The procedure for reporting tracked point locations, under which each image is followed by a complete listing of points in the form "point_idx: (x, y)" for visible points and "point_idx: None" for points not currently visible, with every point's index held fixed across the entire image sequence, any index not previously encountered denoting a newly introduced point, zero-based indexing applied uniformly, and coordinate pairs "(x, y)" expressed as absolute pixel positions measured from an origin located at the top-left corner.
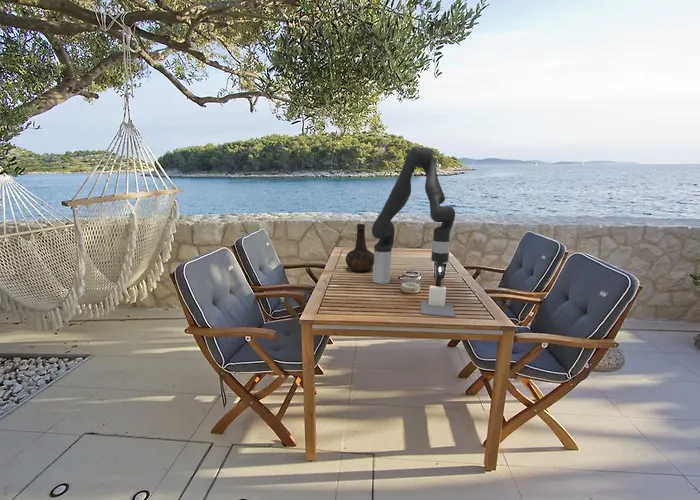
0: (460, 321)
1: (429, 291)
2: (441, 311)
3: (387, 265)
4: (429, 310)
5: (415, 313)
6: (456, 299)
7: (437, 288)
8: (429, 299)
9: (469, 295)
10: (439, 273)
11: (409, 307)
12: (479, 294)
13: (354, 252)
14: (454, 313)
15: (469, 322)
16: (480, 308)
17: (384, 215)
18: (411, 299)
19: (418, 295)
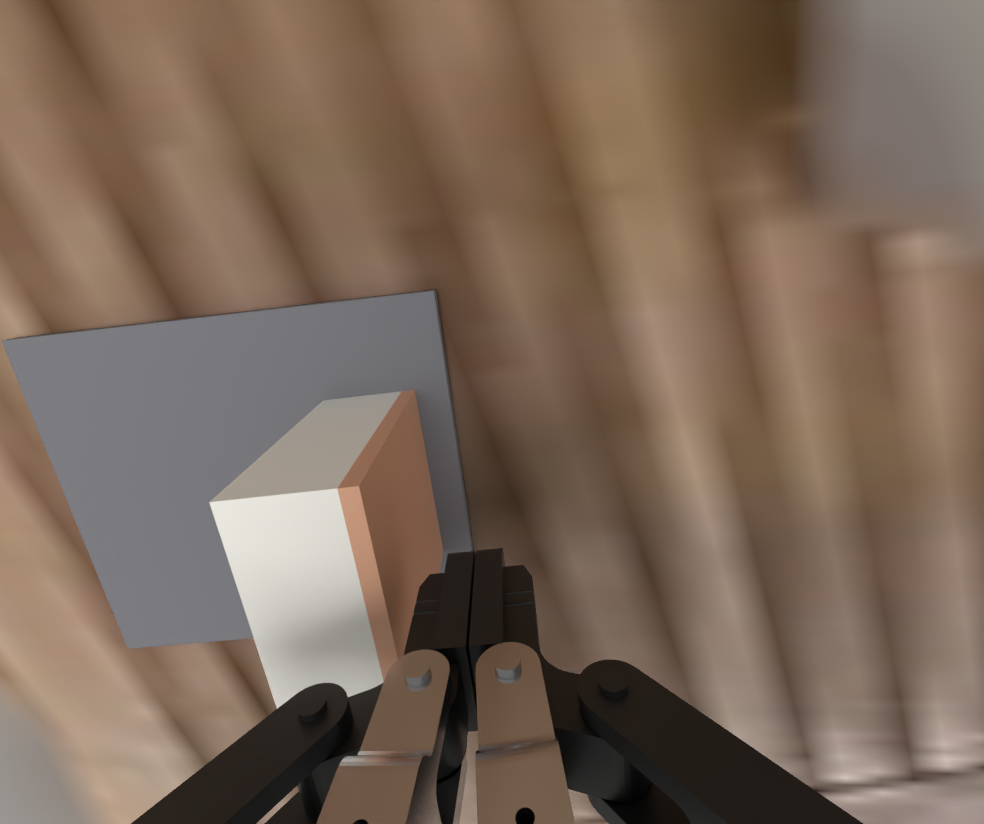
0: (67, 675)
1: (355, 447)
2: (180, 536)
3: None
4: (139, 422)
5: (12, 274)
6: (669, 642)
7: (250, 615)
8: (297, 426)
9: (834, 743)
10: None
11: (172, 169)
12: (883, 814)
13: None
14: (191, 642)
15: (88, 731)
16: (471, 805)
17: None
18: (504, 147)
19: (714, 223)
